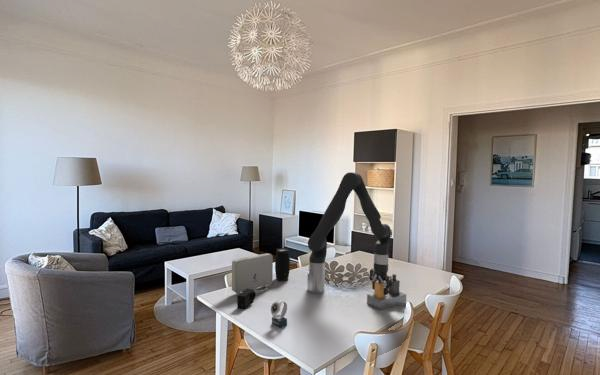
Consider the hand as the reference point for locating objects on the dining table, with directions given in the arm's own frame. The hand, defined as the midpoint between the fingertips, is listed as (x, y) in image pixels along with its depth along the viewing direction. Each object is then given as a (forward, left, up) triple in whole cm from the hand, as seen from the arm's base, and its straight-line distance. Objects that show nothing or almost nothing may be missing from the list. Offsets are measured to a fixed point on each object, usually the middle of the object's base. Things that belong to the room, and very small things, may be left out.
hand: (379, 292), depth 175 cm
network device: (-53, +49, -7) cm, 73 cm away
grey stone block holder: (+5, 0, -7) cm, 9 cm away
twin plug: (+10, 0, -5) cm, 11 cm away
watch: (-57, +4, -7) cm, 58 cm away
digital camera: (-63, +31, -7) cm, 71 cm away
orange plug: (0, 0, -5) cm, 5 cm away
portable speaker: (-29, +59, -7) cm, 66 cm away
